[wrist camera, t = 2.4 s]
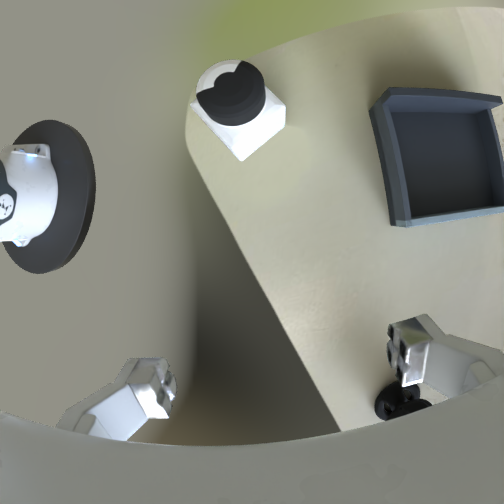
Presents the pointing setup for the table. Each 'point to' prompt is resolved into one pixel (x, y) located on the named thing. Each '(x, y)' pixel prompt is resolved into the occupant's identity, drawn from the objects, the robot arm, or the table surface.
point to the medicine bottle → (238, 106)
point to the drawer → (438, 154)
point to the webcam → (399, 401)
